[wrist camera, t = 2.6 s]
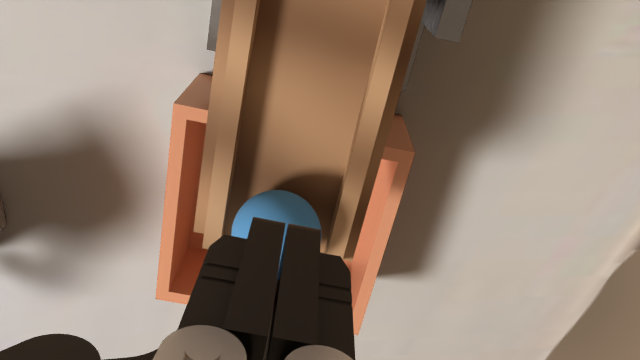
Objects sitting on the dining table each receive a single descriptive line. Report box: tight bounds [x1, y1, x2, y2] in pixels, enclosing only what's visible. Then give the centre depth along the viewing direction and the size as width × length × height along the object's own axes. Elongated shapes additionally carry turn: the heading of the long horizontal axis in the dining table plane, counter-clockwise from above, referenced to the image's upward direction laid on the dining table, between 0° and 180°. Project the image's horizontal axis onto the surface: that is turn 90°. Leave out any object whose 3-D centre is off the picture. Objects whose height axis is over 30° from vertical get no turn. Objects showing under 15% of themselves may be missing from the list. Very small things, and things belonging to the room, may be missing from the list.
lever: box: [193, 0, 427, 262], centre depth 20 cm, size 23×8×6 cm, turn 168°
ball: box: [231, 190, 321, 264], centre depth 24 cm, size 4×4×4 cm
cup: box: [156, 73, 415, 335], centre depth 36 cm, size 14×14×6 cm
